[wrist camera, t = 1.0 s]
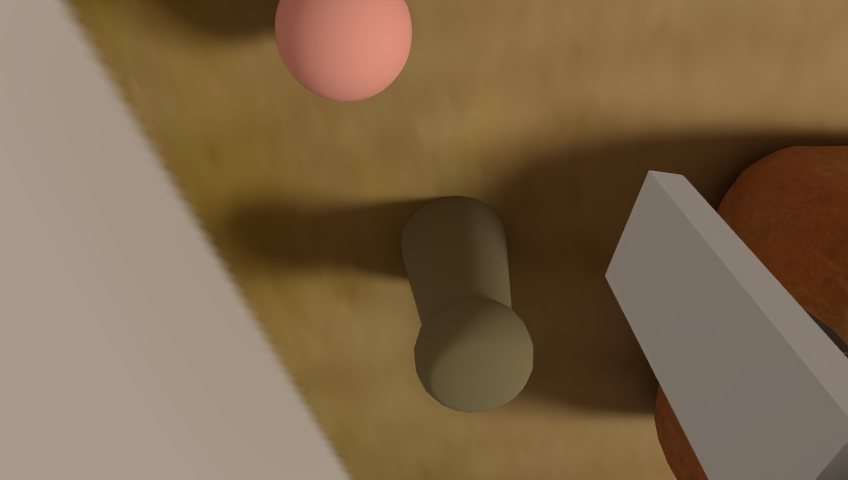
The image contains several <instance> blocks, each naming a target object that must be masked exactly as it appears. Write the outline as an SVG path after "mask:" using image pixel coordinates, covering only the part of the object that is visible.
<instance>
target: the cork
mask: <svg viewBox="0 0 848 480" xmlns="http://www.w3.org/2000/svg"><path fill="white" fill-rule="evenodd" d="M400 244H401V253H402V258H403V261H404V265H405V268H406V272H407V275H408V278H409V282H410V285H411V289H412V292H413V296H414V299H415V303H416V306H417V310H418V313H419V317H420V320H421V324H422V326H421V328H420V332H419V335H418V338H417V341H416V344H415V348H414V353H415V365H416V372H417V374H418V377H419V379H420V381H421V383H422V385H423V386H424V388H425V390H426V391H427V392H428V393H429V394H430V395H431V396H432V397H433V398H435V399H436V400H437V401H438V402H440V403H441V404H442V405H444V406H446V407H449V408H451V409H454V410H457V411H464V412H481V411H488V410H491V409H494V408H497V407H500V406H502V405H504V404H506V403H507V402H509V401H511V400H512V399H514V398H515V397H516V396H517V395H518V394H519V392H520V391H521V390H522V389H523V388H524V386H525V385H526V383H527V381H528V378H529V376H530V374H531V372H532V370H533V344H532V341H531V338H530V335H529V333H528V330H527V328H526V326H525V324H524V323H523V321H522V320H521V319H520V317H519V316H518V315H517V314H516V313H515V312H514V311H513V310H512V306H511V294H510V281H509V269H508V256H507V244H506V231H505V229H504V226H503V224H502V221H501V219H500V217H499V216H498V215H497V214H496V213H495V212H494V211H493V210H492V208H491V207H489V206H488V205H486V204H484V203H482V202H480V201H478V200H476V199H472V198H467V197H462V196H454V197H443V198H440V199H437V200H434V201H432V202H429V203H427V204H425V205H424V206H422V207H421V208H420V209H419V210H417V211H416V212H415V213H413V214H412V216H411V217H410V219H409V220H408V222H407V223H406V225H405V226H404V228H403V232H402V236H401V240H400Z"/></svg>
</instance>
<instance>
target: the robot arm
mask: <svg viewBox="0 0 848 480" xmlns="http://www.w3.org/2000/svg"><path fill="white" fill-rule="evenodd" d="M605 277H606V279H607V281H608V283H609V285H610V287H611V289H612V291H613V293H614V295H615V297H616V299H617V301H618V303H619V305H620V307H621V309H622V311H623V313H624V315H625V317H626V319H627V321H628V322H629V324H630V326H631V328H632V330H633V332H634V334H635V336H636V338H637V340H638V342H639V344H640V346H641V348H642V350H643V352H644V354H645V356H646V358H647V360H648V362H649V364H650V366H651V368H652V370H653V372H654V374H655V376H656V378H657V379H658V381H659V383H660V385H661V387H662V389H663V391H664V393H665V395H666V397H667V399H668V401H669V403H670V405H671V407H672V409H673V411H674V413H675V415H676V417H677V419H678V421H679V423H680V425H681V427H682V429H683V431H684V433H685V435H686V437H687V438H688V440H689V442H690V444H691V446H692V448H693V450H694V452H695V454H696V456H697V458H698V460H699V462H700V464H701V466H702V468H703V470H704V472H705V474H706V476H707V478H708V480H848V345H847V344H846V343H845V342H844V341H843V340H842V339H841V338H840V337H839V335H838V334H837V333H836V332H835V331H834V330H833V329H831V328H830V327H828V326H827V325H826V324H824V323H823V322H822V321H820V320H819V319H818V318H816V317H815V316H813V315H812V314H811V313H809V312H808V311H807V310H805V309H803V308H802V307H801V306H800V305H799V304H798V303H797V301H796V300H795V299H794V298H793V297H792V296H791V295H790V294H789V293H788V291H787V290H786V289H785V288H784V287H783V286H782V285H781V284H780V283H779V281H778V280H777V279H776V278H775V277H774V276H773V275H772V274H771V273H770V271H769V270H768V269H767V268H766V267H765V266H764V265H763V264H762V262H761V261H760V260H759V259H758V258H757V257H756V256H755V255H754V254H753V252H752V251H751V250H750V249H749V248H748V247H747V246H746V245H745V244H744V242H743V241H742V240H741V239H740V238H739V237H738V236H737V235H736V234H735V232H734V231H733V230H732V229H731V228H730V227H729V226H728V225H727V224H726V222H725V221H724V220H723V219H722V218H721V217H720V216H719V215H718V214H717V212H716V211H715V210H714V209H713V208H712V207H711V206H710V205H709V203H708V202H707V201H706V200H705V199H704V198H703V197H702V196H701V195H700V193H699V192H698V191H697V190H696V189H695V188H694V187H693V186H692V185H691V183H690V182H689V181H688V180H687V179H686V178H685V177H684V176H683V175H680V174H672V173H665V172H658V171H651V170H649V171H648V173H647V176H646V178H645V181H644V183H643V185H642V188H641V190H640V193H639V195H638V197H637V200H636V202H635V205H634V207H633V209H632V212H631V214H630V217H629V219H628V221H627V224H626V226H625V229H624V231H623V233H622V236H621V238H620V241H619V243H618V245H617V248H616V250H615V253H614V255H613V257H612V260H611V262H610V265H609V267H608V269H607V272H606V274H605Z"/></svg>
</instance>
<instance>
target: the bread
mask: <svg viewBox="0 0 848 480" xmlns="http://www.w3.org/2000/svg"><path fill="white" fill-rule="evenodd" d="M717 214H718V215H719V216H720V217H721V218H722V219H723V220H724V221H725V222H726V224H727V225H728V226H729V227H730V228H731V229H732V230H733V231H734V232H735V234H736V235H737V236H738V237H739V238H740V239H741V240H742V241H743V242H744V244H745V245H746V246H747V247H748V248H749V249H750V250H751V251H752V252H753V254H754V255H755V256H756V257H757V258H758V259H759V260H760V261H761V262H762V264H763V265H764V266H765V267H766V268H767V269H768V270H769V271H770V273H771V274H772V275H773V276H774V277H775V278H776V279H777V280H778V281H779V283H780V284H781V285H782V286H783V287H784V288H785V289H786V290H787V291H788V293H789V294H790V295H791V296H792V297H793V298H794V299H795V300H796V301H797V303H798V304H799V305H800V306H801V307H802V308H803V309H805V310H807V311H808V312H809V313H811V314H812V315H813V316H815V317H816V318H818V319H819V320H820V321H822V322H823V323H824V324H826V325H827V326H828V327H830V328H831V329H833V330H834V331H835V332H836V333H837V334H838V335H839V337H840V338H841V339H842V340H843V341H844V342H845V343H846V344H847V345H848V146H791V147H788V148H784V149H780V150H777V151H775V152H774V153H772V154H770V155H768V156H766V157H764V158H762V159H760V160H758V161H757V162H755V163H754V164H752V165H751V166H749V167H748V168H746V169H745V170H744V171H743V172H742V173H741V175H740V176H739V177H738V178H737V180H736V181H735V182H734V183H733V185H732V186H731V187H730V189H729V190H728V191H727V192H726V194H725V196H724V198H723V200H722V202H721V204H720V206H719V208H718V210H717ZM654 419H655V424H656V429H657V435H658V439H659V442H660V444H661V447H662V450H663V452H664V455H665V457H666V460H667V463H668V464H669V466H670V468H671V470H672V471H673V473H674V475H675V477H676V479H677V480H708V478H707V476H706V474H705V472H704V470H703V468H702V466H701V464H700V462H699V460H698V458H697V456H696V454H695V452H694V450H693V448H692V446H691V444H690V442H689V440H688V438H687V437H686V435H685V433H684V431H683V429H682V427H681V425H680V423H679V421H678V419H677V417H676V415H675V413H674V411H673V409H672V407H671V405H670V403H669V401H668V399H667V397H666V395H665V393H664V391H663V389H662V387H661V385H660V383H659V387H658V391H657V396H656V407H655V417H654Z"/></svg>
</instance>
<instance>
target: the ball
mask: <svg viewBox="0 0 848 480" xmlns="http://www.w3.org/2000/svg"><path fill="white" fill-rule="evenodd" d="M275 35H276V42H277V46H278V49H279V53H280V55H281V57H282V60H283V62H284V64H285V65H286V67H287V69H288V70H289V71H290V73H291V74H292V75H293V77H294V78H295V79H296V80H297V81H298V82H299V83H300V84H302V85H303V86H304V87H305V88H307V89H308V90H310V91H311V92H313V93H315V94H317V95H319V96H321V97H324V98H327V99H330V100H335V101H357V100H363V99H366V98H369V97H371V96H374V95H376V94H378V93H379V92H381V91H382V90H384V89H385V88H386V87H388V86H389V85H390V84H391V83H392V82H393V81H394V80H395V79H396V77H397V76H398V75H399V73H400V72H401V70H402V69H403V67H404V65H405V63H406V61H407V58H408V55H409V52H410V47H411V40H412V24H411V18H410V13H409V10H408V7H407V4H406V2H405V0H280V1H279V4H278V7H277V11H276V17H275Z"/></svg>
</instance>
